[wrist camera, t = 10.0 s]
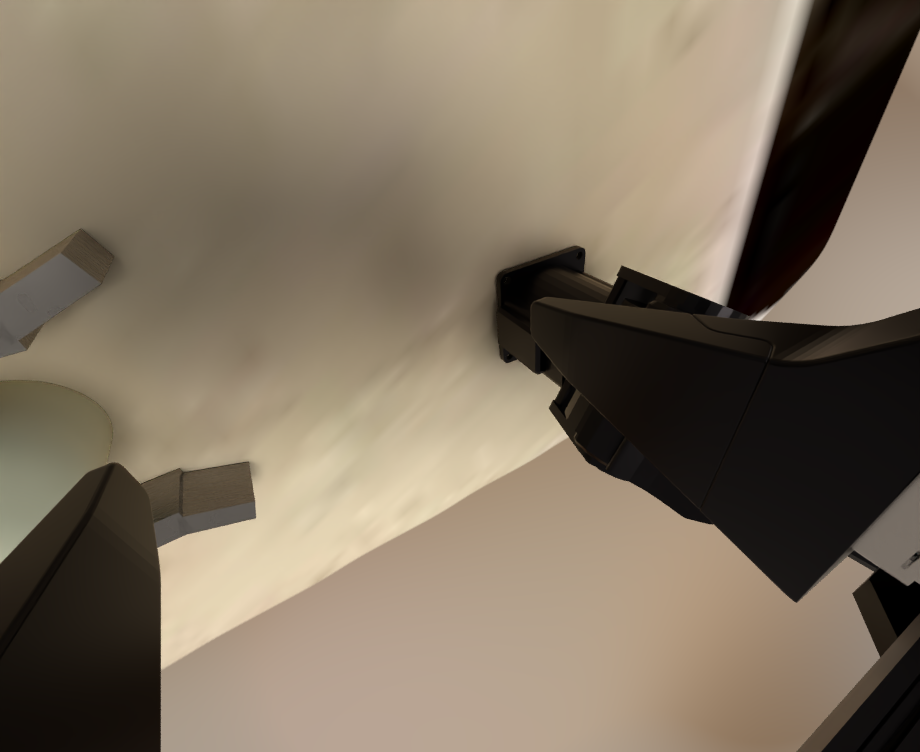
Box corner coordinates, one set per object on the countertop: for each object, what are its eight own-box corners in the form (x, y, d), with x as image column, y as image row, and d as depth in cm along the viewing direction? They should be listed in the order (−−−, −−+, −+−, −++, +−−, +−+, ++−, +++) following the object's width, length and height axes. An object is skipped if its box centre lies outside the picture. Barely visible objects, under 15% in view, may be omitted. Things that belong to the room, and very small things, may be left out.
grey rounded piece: (60, 361, 16) (-1, 485, 11) (138, 449, 19) (120, 577, 14) (-116, 414, 14) (-285, 590, 9) (2, 501, 17) (-75, 667, 12)
